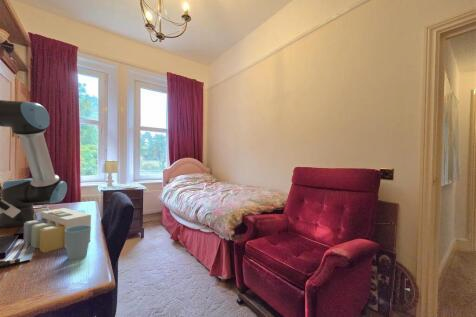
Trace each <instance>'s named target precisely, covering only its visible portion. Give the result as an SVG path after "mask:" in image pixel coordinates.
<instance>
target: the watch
mask: <svg viewBox="0 0 476 317" xmlns="http://www.w3.org/2000/svg"><path fill="white" fill-rule="evenodd" d="M48 210H52V209H51V208H50V207H49V208H47V207H42V208H39V209H37V210H35V213H34V215H33V219H34V220H36V216H37V214H38V213H39V212H42V211H48ZM35 215H36V216H35Z"/></svg>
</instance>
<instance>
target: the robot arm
mask: <svg viewBox="0 0 476 317" xmlns="http://www.w3.org/2000/svg"><path fill="white" fill-rule="evenodd" d="M50 121H51V119H50V115H49V112H48V111H47V109H46V108H45V107H44V106H43V105H41V104H40V103H38V102H31V101H20V100H3V99H2V100H1V99H0V127H5V128H6V127H7V128H11V131H12V133H13V134H14V135H16V136H18V137H19V140H20V143H21V146H22V149H23V151H24V152H23V153H24V155H25V158H26V161H27V165H28V167H29V168H28V169H29V171H30V173H31V176H32V177H31V178H22V179H14V180H12V179H11V180H6V181H4V182H3V183H2V187H1V196H0V228H3V229H5V228H16V227H22V226H23V227H24V223H26V222H28V221H33V220H34V219H33V215H34V213H35V212H36V210H35V209H34V204H55V203H56V204H57V203H60V202H62V201H63V199H64V198H65V197H66V194H67V192H68V185H67V182H66V181H64V180H61V179H60V177H59V175H58V174H55V170H54V166H53V163H52V160H51V157H50V153H49V150H48V146H47V145H48V144H47V142H46V138H45V135H44V133H46V131H47V128H48V127H49V126H50ZM35 216H36V220H38V216H37V214H36V215H35Z"/></svg>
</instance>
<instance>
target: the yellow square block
mask: <svg viewBox="0 0 476 317" xmlns="http://www.w3.org/2000/svg"><path fill="white" fill-rule="evenodd" d="M64 230H65V225H58V226H54V227H53V226H50V227H46V228H43V229H40V247H39V251H40V252H41V253H44V254H45V253H48V252H52V251H56V250H59V249H62V248H64Z"/></svg>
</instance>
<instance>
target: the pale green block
mask: <svg viewBox="0 0 476 317" xmlns="http://www.w3.org/2000/svg"><path fill="white" fill-rule="evenodd" d="M50 226H53V227H54V226H55V222H49V223H41V224H36V225H34V226H32V236H31V244H30V246H31V247H32V248H34V249H40V229H43V228H46V227H50Z"/></svg>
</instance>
